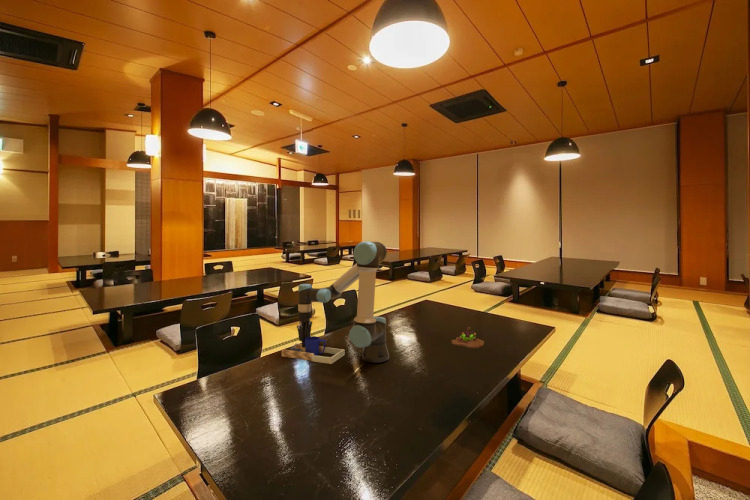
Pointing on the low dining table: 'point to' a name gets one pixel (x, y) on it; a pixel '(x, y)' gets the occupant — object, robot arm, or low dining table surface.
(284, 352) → the wooden serving tray
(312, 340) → the mug
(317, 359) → the tray
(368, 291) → the robot arm
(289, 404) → the low dining table surface
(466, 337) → the plant
